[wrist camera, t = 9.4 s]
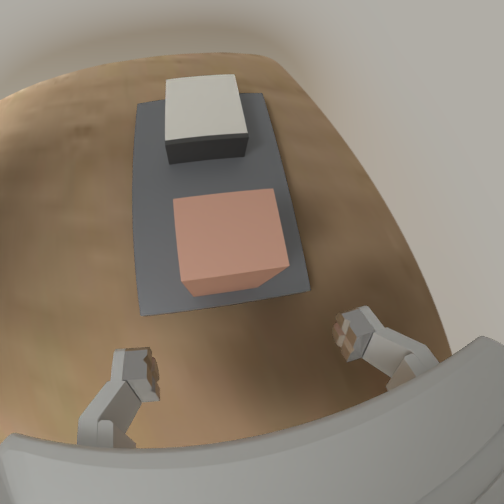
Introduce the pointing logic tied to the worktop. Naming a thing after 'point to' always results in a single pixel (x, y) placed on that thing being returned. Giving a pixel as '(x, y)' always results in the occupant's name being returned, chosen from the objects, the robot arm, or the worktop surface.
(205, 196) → the salmon pink rectangular block
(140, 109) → the stand
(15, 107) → the worktop surface
